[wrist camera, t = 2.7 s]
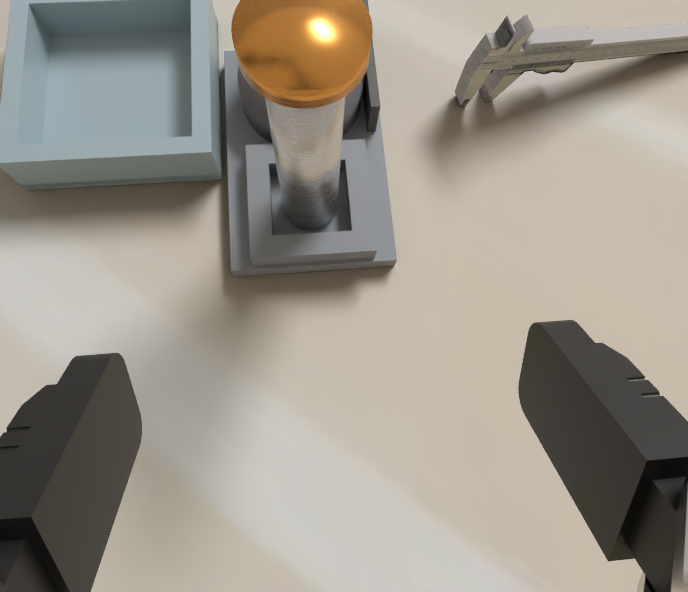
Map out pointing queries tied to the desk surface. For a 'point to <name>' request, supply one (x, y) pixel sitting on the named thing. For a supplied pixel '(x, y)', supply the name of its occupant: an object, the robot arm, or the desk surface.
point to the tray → (110, 93)
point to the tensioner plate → (265, 196)
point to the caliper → (556, 51)
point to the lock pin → (304, 90)
